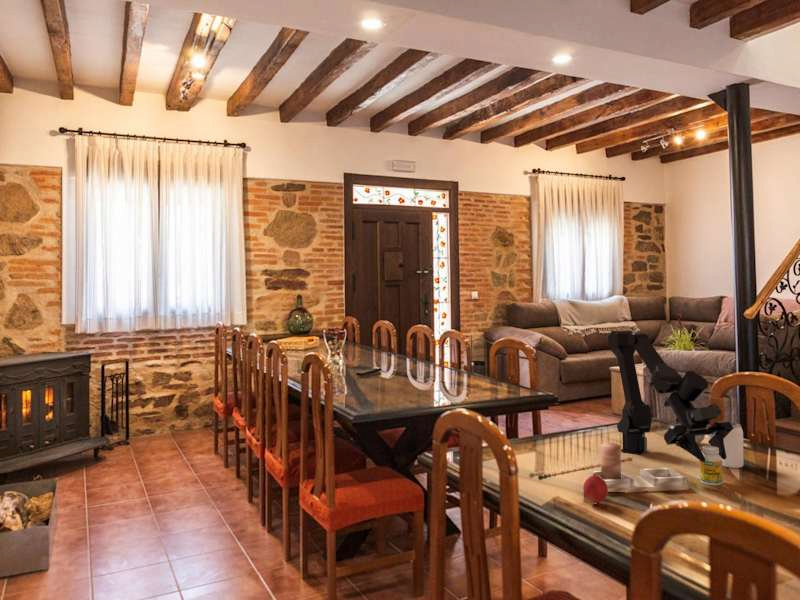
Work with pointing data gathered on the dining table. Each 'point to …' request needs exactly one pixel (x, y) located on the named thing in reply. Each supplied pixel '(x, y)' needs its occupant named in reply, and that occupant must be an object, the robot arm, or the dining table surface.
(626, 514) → the dining table surface
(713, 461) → the supplement bottle
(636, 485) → the candle holder
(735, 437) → the can
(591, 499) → the onion
